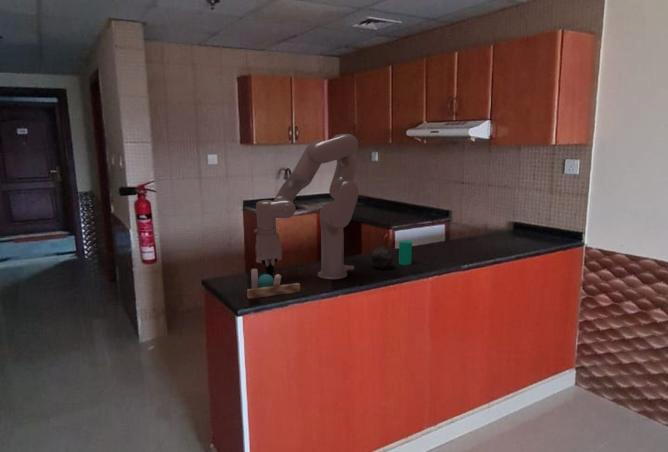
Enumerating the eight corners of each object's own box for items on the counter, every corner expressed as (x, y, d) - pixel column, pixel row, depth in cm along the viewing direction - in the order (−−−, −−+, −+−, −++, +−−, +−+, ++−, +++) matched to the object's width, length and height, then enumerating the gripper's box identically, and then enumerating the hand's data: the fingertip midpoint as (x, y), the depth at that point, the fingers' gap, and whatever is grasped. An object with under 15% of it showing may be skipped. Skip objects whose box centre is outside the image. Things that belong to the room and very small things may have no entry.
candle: (410, 261, 224) (410, 237, 222) (412, 264, 218) (413, 239, 216) (397, 261, 224) (398, 237, 222) (399, 264, 218) (400, 239, 216)
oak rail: (298, 290, 180) (298, 282, 179) (300, 291, 178) (300, 284, 178) (247, 297, 172) (247, 289, 172) (248, 298, 170) (248, 290, 170)
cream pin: (277, 284, 181) (280, 273, 174) (279, 289, 180) (282, 279, 173) (271, 285, 180) (274, 275, 173) (273, 291, 179) (275, 280, 172)
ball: (272, 281, 177) (277, 287, 182) (267, 269, 180) (273, 275, 185) (257, 288, 177) (263, 294, 182) (253, 275, 180) (259, 281, 185)
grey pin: (257, 290, 179) (256, 268, 178) (258, 292, 177) (258, 269, 176) (251, 291, 178) (250, 269, 177) (252, 293, 176) (251, 270, 175)
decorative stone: (368, 265, 216) (368, 244, 214) (388, 264, 219) (388, 243, 217) (375, 271, 207) (375, 249, 205) (396, 269, 209) (396, 248, 207)
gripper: (251, 234, 181) (254, 280, 184) (287, 230, 187) (290, 274, 190) (246, 231, 188) (249, 275, 191) (282, 227, 194) (284, 270, 197)
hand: (269, 274), depth 191 cm, fingers closed
